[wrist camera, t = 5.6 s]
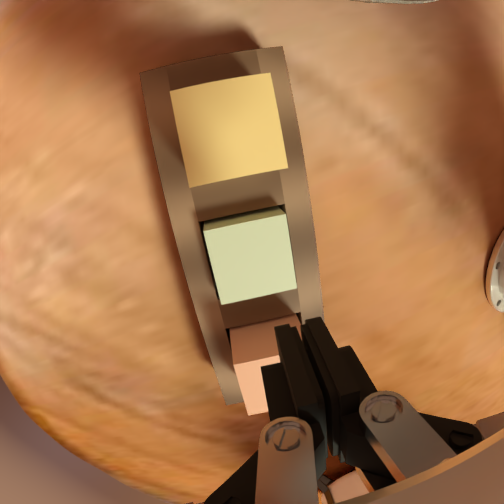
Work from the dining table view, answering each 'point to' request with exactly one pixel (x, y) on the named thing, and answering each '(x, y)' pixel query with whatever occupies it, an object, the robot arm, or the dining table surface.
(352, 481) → the coffee press
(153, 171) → the dining table surface
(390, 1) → the ceramic bowl
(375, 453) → the robot arm
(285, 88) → the wooden tray
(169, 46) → the dining table surface
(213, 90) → the yellow cube
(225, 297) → the pale green cube
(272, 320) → the salmon pink cube
